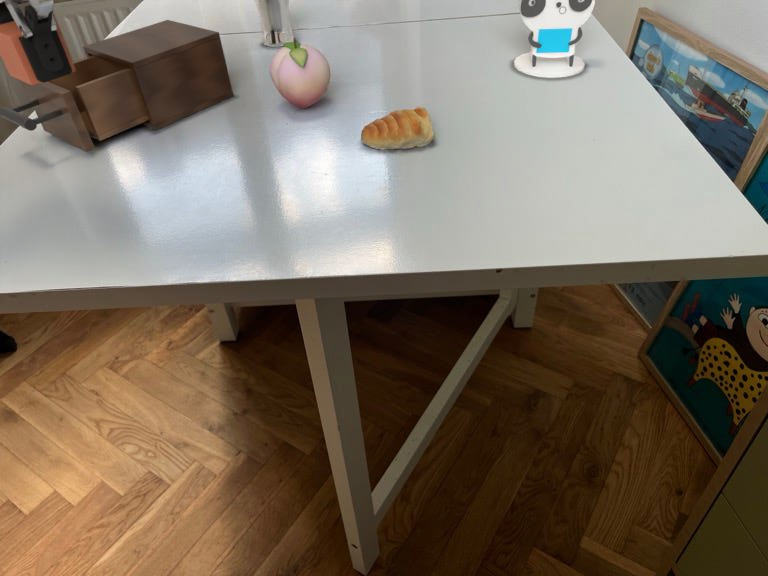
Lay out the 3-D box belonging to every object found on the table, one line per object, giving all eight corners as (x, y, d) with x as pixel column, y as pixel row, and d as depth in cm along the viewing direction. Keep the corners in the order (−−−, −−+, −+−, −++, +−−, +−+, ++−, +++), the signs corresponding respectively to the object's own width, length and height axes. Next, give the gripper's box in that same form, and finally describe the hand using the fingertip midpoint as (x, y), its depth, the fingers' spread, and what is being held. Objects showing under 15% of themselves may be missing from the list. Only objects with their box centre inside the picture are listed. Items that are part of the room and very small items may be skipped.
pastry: (369, 158, 71) (368, 130, 68) (355, 136, 75) (353, 109, 73) (438, 144, 73) (438, 117, 70) (419, 124, 77) (419, 97, 75)
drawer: (51, 167, 71) (22, 108, 65) (10, 144, 76) (-20, 88, 71) (171, 114, 81) (154, 60, 76) (127, 98, 87) (109, 46, 81)
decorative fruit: (344, 111, 82) (337, 41, 75) (292, 125, 79) (281, 53, 72) (318, 91, 88) (310, 24, 81) (269, 103, 85) (257, 34, 78)
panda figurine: (512, 77, 89) (523, -28, 79) (508, 53, 97) (518, -45, 87) (589, 77, 87) (611, -30, 77) (578, 52, 96) (596, -47, 86)
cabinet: (155, 130, 79) (132, 62, 73) (107, 110, 85) (82, 46, 79) (233, 95, 88) (219, 32, 81) (184, 80, 94) (167, 19, 87)
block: (31, 85, 51) (9, 36, 48) (10, 75, 53) (-13, 27, 51) (76, 71, 54) (57, 23, 51) (53, 62, 56) (34, 15, 53)
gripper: (-160, -171, 43) (-35, 65, 55) (-76, -171, 35) (48, 106, 47) (-57, -176, 48) (38, 44, 60) (39, -177, 40) (125, 78, 52)
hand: (41, 69), depth 53 cm, fingers closed on block, 4 cm apart
